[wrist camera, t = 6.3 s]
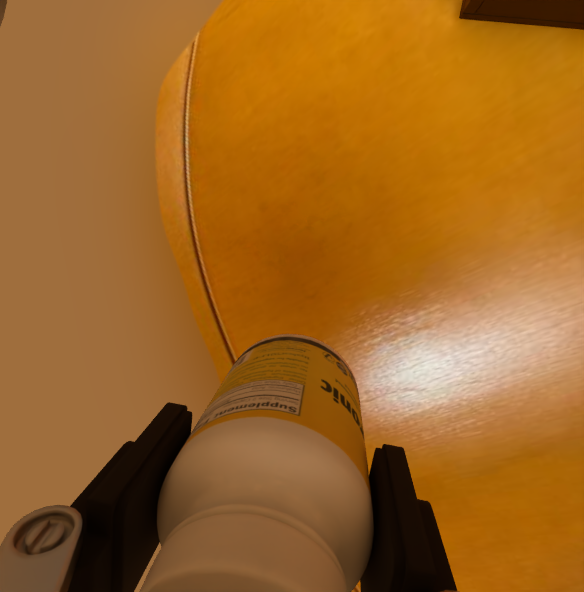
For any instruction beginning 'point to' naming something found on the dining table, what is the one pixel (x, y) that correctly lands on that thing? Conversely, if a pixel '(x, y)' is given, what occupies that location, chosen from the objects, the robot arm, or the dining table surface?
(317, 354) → the supplement bottle
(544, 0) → the trash bin
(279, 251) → the dining table surface
